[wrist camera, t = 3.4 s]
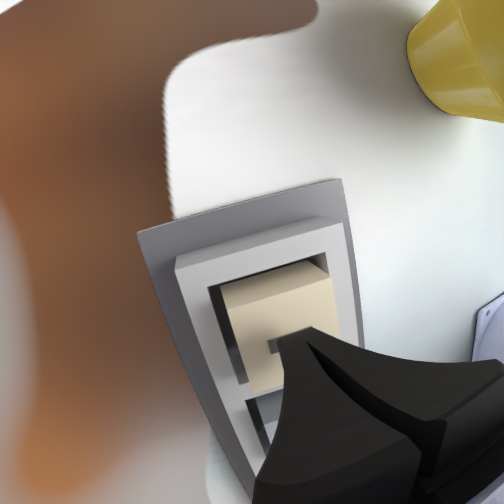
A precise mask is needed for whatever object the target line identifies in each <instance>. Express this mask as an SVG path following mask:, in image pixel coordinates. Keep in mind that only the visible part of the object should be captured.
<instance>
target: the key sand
mask: <svg viewBox="0 0 504 504" xmlns="http://www.w3.org/2000/svg"><path fill="white" fill-rule="evenodd" d="M220 289H221V292H222V296H223V299H224V302H225V306H226V309H227V312H228V315H229V319H230V322H231V325H232V329H233V332H234V335H235V338H236V341H237V345H238V348H239V351H240V354H241V357H242V360H243V363H244V367H245V370H246V373H247V376H248V379H249V382H250V385H251V388H252V391H253V394H254V393H257V392H261V391H264V390H267V389H270V388H273V387H276V386H279V385H282V384H284V371H283V366H282V362H281V358H280V354H279V350H278V346H277V341H278V339H279V338H282V337H285V336H288V335H291V334H294V333H296V332H299V331H302V330H305V329H308V328H311V327H313V328H316V329H318V330H320V331H322V332H324V333H327V334H329V335H331V336H333V337H335V338H338V339H340V332H339V324H338V317H337V310H336V303H335V296H334V290H333V283H332V277H331V276H329V275H328V274H327V273H325V272H324V271H322V270H321V269H319V268H318V267H317V266H315V265H314V264H312V263H311V262H309V261H308V260H306V261H302V262H299V263H296V264H292V265H289V266H286V267H282V268H279V269H276V270H273V271H269V272H266V273H262V274H259V275H256V276H252V277H249V278H246V279H242V280H239V281H235V282H232V283H229V284H225V285H222V286H220ZM340 340H341V339H340Z"/></svg>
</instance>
